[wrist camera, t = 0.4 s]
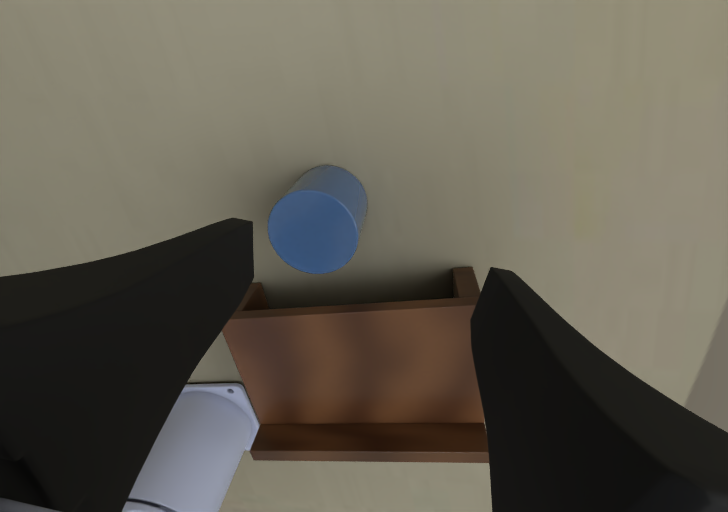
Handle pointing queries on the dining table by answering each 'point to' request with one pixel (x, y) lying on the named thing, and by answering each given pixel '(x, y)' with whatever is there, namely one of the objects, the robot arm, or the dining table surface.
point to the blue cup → (319, 220)
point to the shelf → (362, 378)
